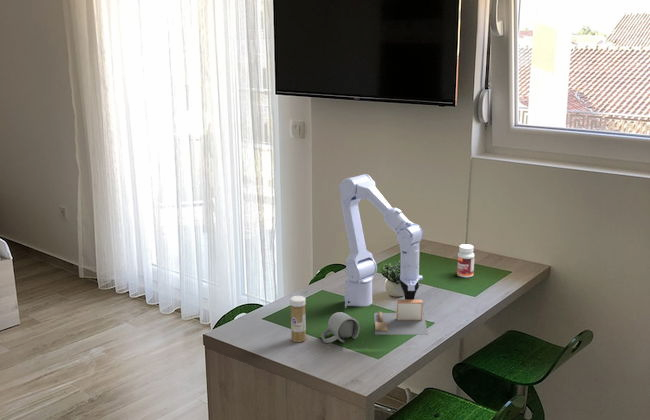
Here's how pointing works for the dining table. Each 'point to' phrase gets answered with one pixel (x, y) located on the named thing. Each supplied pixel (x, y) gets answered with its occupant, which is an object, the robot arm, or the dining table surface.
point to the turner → (380, 323)
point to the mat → (401, 325)
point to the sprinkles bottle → (298, 318)
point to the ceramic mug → (341, 328)
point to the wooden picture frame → (409, 309)
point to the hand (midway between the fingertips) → (409, 303)
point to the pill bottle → (465, 261)
